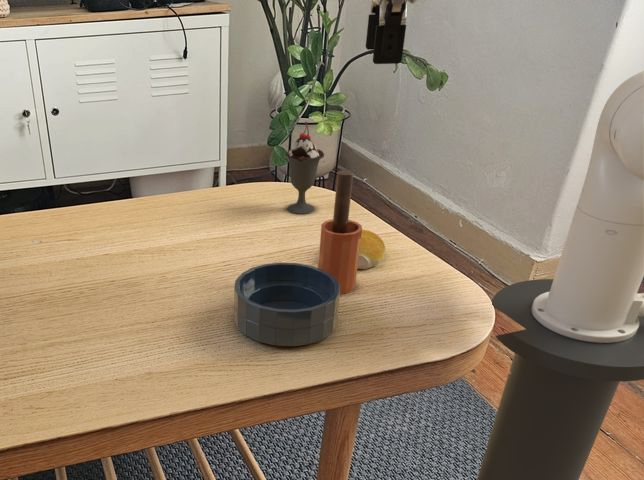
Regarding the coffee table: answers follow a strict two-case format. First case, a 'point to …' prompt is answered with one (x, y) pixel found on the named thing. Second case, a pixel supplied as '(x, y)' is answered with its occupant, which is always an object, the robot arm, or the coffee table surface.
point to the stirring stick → (342, 201)
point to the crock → (340, 253)
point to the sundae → (303, 170)
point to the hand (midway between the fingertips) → (382, 55)
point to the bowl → (286, 303)
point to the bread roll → (370, 250)
